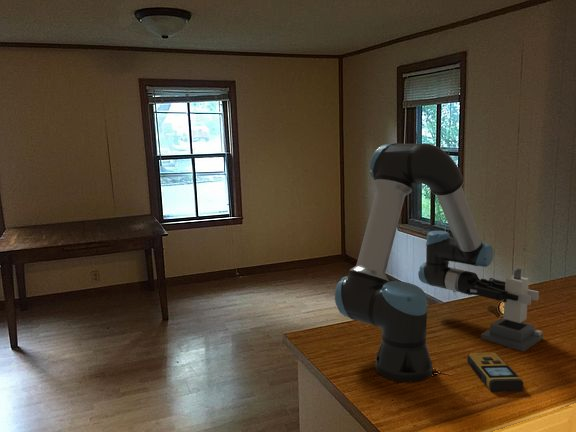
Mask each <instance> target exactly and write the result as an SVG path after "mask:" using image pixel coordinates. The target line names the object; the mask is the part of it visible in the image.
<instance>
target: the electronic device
mask: <svg viewBox="0 0 576 432" xmlns="http://www.w3.org/2000/svg"><path fill="white" fill-rule="evenodd" d="M466 357H467V358H466V359H467V364H468V365H469V366H470V368H471V369H472V370H473V372H474V373H475V374H476V375H477V376H478V378H479V379H480V381H481V382H482V383H483V385H485V386H486V387H487V388H488V389H489V391H490V392H491V393H499V392H500V393H502V392H507V393H508V392H522V391H524V381H523V380H522V379H520V377H519V375H518V374H517V373H516V372H515V371H514V370H513V369H512V367H510V365H508V363H507V362H506V361H505V360H504V359H503V358H502V357H501V356H500V355H499V354H498V353H497V352H471V353H470V352H469V353H467V356H466Z"/></svg>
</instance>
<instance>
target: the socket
mask: <svg viewBox="0 0 576 432" xmlns="http://www.w3.org/2000/svg"><path fill="white" fill-rule="evenodd" d="M535 326H536V324H532V323H528V322H525V321H523V322H521V323H517V322H514V321H510V320H507V319H504V316H503V317H502V318H499V319H497V320H496V321H494V322H492V323H490V324H489V327H490V329H487V330H485V331H484V332H482V333H480V334H481V335H480V337H481V339H483V340H485V341H489V342H492V343H494V342H495V344H498V345H501V346H504V347H507V348H510V349H513V350H516V351H520V352H525V351H527V350H528V349H529V348H531V347H533V346H534V345H536V344H537V343H539V342H540V341H542V340H543V338H544V334H543V331H542V330H539V329H535V328H536V327H535Z"/></svg>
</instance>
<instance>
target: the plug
mask: <svg viewBox="0 0 576 432" xmlns="http://www.w3.org/2000/svg"><path fill="white" fill-rule="evenodd" d="M529 281H530V280H529V278H528V277H523V276H522V268H520V267H514V268H513V275H512V274H511V275H510V276H507V277H505V280H504V282H505V291H507V293H508V291H513V292H517V293H521V294H526V295H528V289H529V283H530V282H529ZM527 316H528V305H527V304H523V303H519V302H515V301H511V300H508V299H507V302H503V317H504V319H507V320H510V321H514V322H517V323H521V322H525V320H527V319H528V317H527Z"/></svg>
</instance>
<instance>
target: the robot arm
mask: <svg viewBox="0 0 576 432" xmlns="http://www.w3.org/2000/svg"><path fill="white" fill-rule="evenodd" d="M369 169H370V170H369V173H370V176H371V178H372V179H373V185H374V188H376V191H375V195H374V198H373V202H372V206H371V209H370V212H369V217H368V221H367V224H366V227H365V228H366V229H365V232H364V236H363V239H362V242H361V247H360V250H359V251H360V252H359V255H358V259H357V262H356V265H355V266H354V267H352V268H350V269H349V272H348V274H347V275H346V276H343V277H341V278H340V280H339V281H338V282H337V284H336V287H335V291H334V300H335V306H336V308H337V310H338V312H339V313H340V314H341V315H342V316H344V317H347V318H350V320H351V321H352V320H353V321H359V322H361V323H364V324H368V325H371V326H375V327H378V328H380V329H381V342H380V346H379V349H378V351H377V354H376V356H375V370H376V372H377V373H378V374H379V375H381V376H382V377H384V378H386V379H387V380H388V379H389V380H391V381H396V382H399V383H416V382H417V383H419V382H422V381H424V380H426V379H429V378H430V377H431V376H432V374H433V361H432V359H431V355H430V353H429V352H430V351H429V349H428V345H427V324H428V323H427V322H428V321H427V318H428V314H427V313H428V302H427V301H428V300H427V295H426V293H425V291H424V290H423V289H422V288H421V287H419V286H418V285H416V284H413V283H410V282H407V281H398V280H391V281H390V280H389V278H388V277H387V274H386V271H387V269H388V264H389V260H390V256H391V252H392V249H393V246H394V245H393V244H394V241H395V238H396V237H395V236H396V232H397V228H398V225H399V221H400V218H401V213H402V210H403V205H404V202H405V198H406V196H407V195H409V194H411V193H412V191H413V187H414V184H416V185H417V184H419V185H420V184H421V185H425V186H427V187H428V188H429V190H430V192H431V193H432V194H433V195H434V196H436V197H437V200H438V203H439V205H440V208H441V210H442V212H443V214H444V218H445V220H446V223H447V225H448V227H449V229H450V231H451V234H452V236H453V238H451V236H450V233H449V232H448V231H444V230H432V231H428V233H427V234H426V241H425V242H426V243H425V245H426V252H425V254H426V255H425V256H426V257H425V258H426V261H425V262H423V263H421V265H420V266H419V270H418V273H417V275H418V276H417V277H418V279H419V281H420V282H421V283H423V284H426V285H427V286H428V285H429V286H432V287H436V288H441V289H445V290H449V291H452V292H453V293H456V292H457V293H461V294H464V295H468V296H479V297H483V298H487V299H491V300H496V301H500V302H501V301H502V302H503V303H504V302H507V299H508V300H511V301H515V302H519V303H523V304H527V306H531V305H532V301H536V302H537V301H539V298H540V295H539V294H540V291H537V290H533V289H529V288H528V295H526V294H521V293H517V292H513V291H508V293H507V291H505V280H499V279H495V278H493V277H489V278H488V279H489V280H488V279H486V278H479V276H478V275H477V273H476V272H474V271H468V270H463V269H458V268H454V267H449V265H450V263H449V262H453V263H459V264H464V265H470V266H475V267H481V268H483V267H484V268H487V267H489V266H490V265H491V264H492V262H493V259H494V248H493V246H492V245H491V244H488V243H486V242H482V239H481V235H480V234H479V231H478V228H477V226H476V223H475V222H476V221H475V219H474V217H473V214H472V211H471V208H470V206H469V205H470V204H469V202H468V200H467V197H466V194H465V191H464V188H463V185H464V177H463V174H462V172H461V169H460V168H459V167H458V165H457V163H456V162H455V161H454V159H453V158H452V157H451V156H450V155H449V154H448V153H447V152H446V151H444V150H443V149H442V148H440V147H438V145H434V144H431V143H425V142H422V143H398V142H394V143H389V144H388V143H387V144H385V143H384V144H382V145H380V146H379V147H378V148H376V149H375V151H374V152H373V154H372V156H371V159H370V162H369Z"/></svg>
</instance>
